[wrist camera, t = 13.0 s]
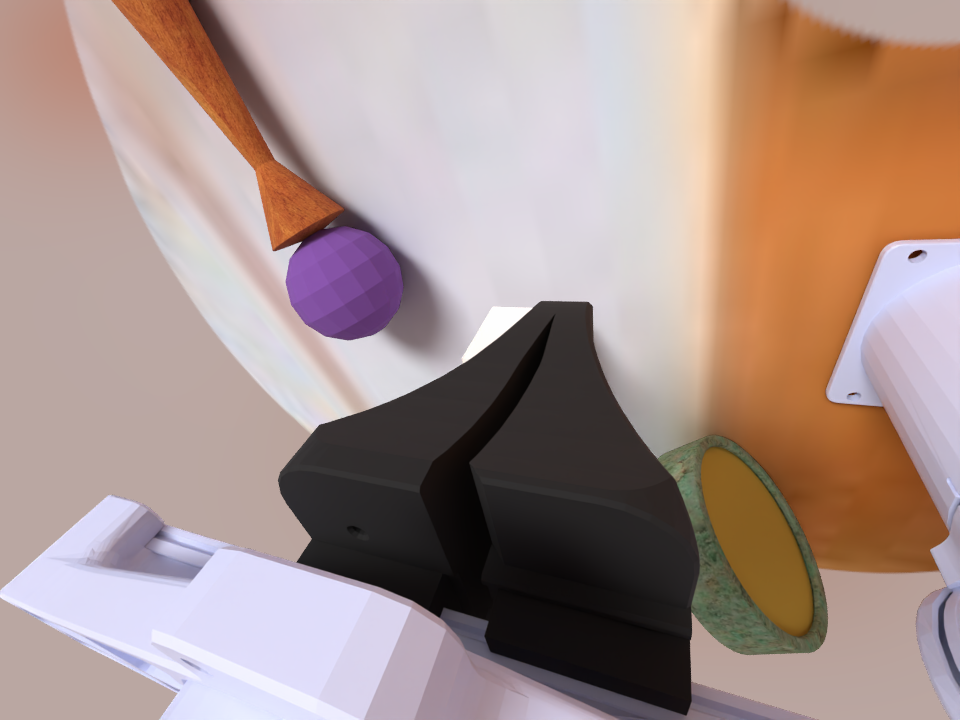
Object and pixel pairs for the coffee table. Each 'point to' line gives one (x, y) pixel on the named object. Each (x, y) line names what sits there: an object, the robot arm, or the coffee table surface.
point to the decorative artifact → (748, 553)
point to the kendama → (280, 190)
